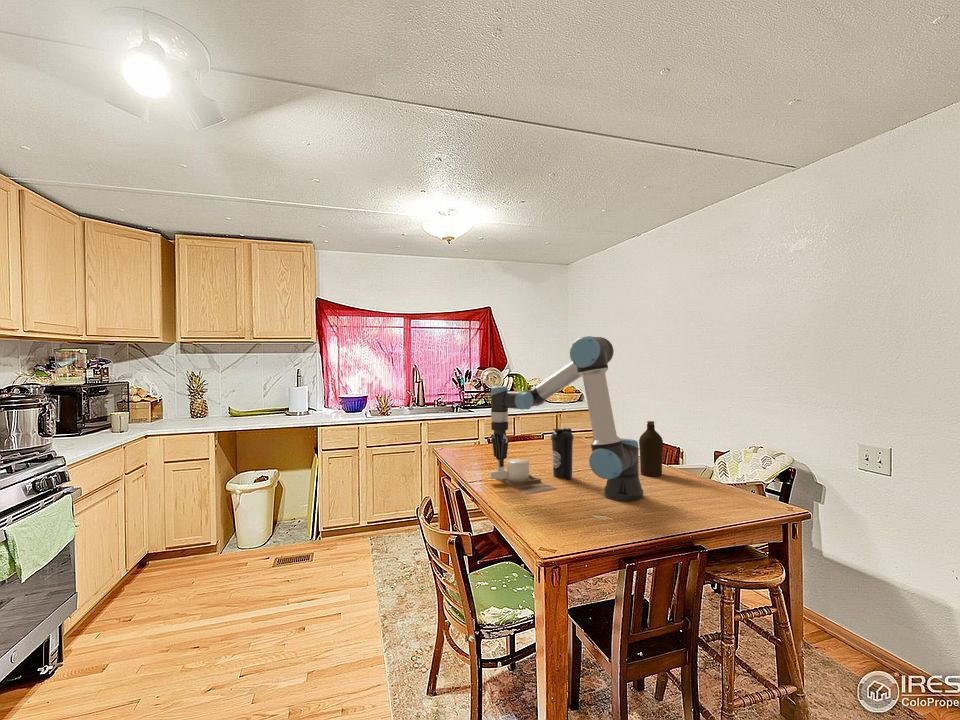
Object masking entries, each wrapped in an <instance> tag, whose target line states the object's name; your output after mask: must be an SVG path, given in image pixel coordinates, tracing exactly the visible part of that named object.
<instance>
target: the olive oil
mask: <svg viewBox="0 0 960 720" xmlns="http://www.w3.org/2000/svg"><path fill="white" fill-rule="evenodd" d="M646 422H647V424H646V430H645V431H644V432H643V433H642V434H641V435H640V437H639V440H638V448H639V462H640V463H639V464H640V475H642V476H644V477H651V478H657V477H661V476H663V453H664V451H663V449H664V442H663V438H662V436H661V435H660V433H658V432H657V431H656V429H655V428H656V427H655V421H652V420H648V421H646Z"/></svg>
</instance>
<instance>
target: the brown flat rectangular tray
mask: <svg viewBox="0 0 960 720" xmlns="http://www.w3.org/2000/svg"><path fill="white" fill-rule="evenodd" d="M496 480H497V481H499V482H501V483H503V484H505V485H507V486H509V487H511V488H513V489H516V490H517V491H519V492H521V493H523V494H526V495H533V494H539V493H544V492H545V493H546V492H550V491H555V490H558V488H556V487H553V486H552V485H549V484H547V483H544V482H542V479H541V478H539V477H537V476H535V475H532V474H530V473H529V480H528V481H521V482H515V483H513V482H511V481H509V480H507V478H503V479H496Z"/></svg>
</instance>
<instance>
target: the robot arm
mask: <svg viewBox="0 0 960 720" xmlns="http://www.w3.org/2000/svg"><path fill="white" fill-rule="evenodd" d="M569 349H570V350H569V359H570V362H569V363H568V364H566V365H564V366H563V367H562V368H560V369H559V370H557V371H556V372H555V373H553V374H552V375H549V377H547V378H546V379H544V380H543V381H542V382H539V384H537V385H535V386H534V387H533V388H531V389H528V390H527V389H526V390H519V391H511V390H509V388H508V386H506V385H495V386H492V387H491V389H490V406H491V407H490V409H491V410H490V414H491V415H490V420H491V423H490V425H491V428H490V429H491V430H492V431H493V434H490V438H491V443H492V444H491V445H492V451H493V452H492V453H493V457H495V459H496V471H498V470H505V468H504V467H505V466H504V465H505V464H504V463H505V462H504V460H506V459H508V458H507V457H508V448H509V443H510V438H509V437H508V438H507V433H506V432H507V431H508V430H509V422H508V421H509V409H514V410H515V409H516V410H521V411H523V410H531V408H532V407H538V406H541V405H543V404H544V403H545V402H546V400H548V399H549V398H550V397H552V396H553V395H556V394H557V393H558V392H560V391H562V390H563V389H565V388H566V387H568V386H569V385H571V384H572V383H574V382H576V381H577V380H578V379H580V378H582V380H583V386H584V391H585V392H584V393H585V396H586V397H585V398H586V403H587V409H588V413H589V419H590V425H591V431H592V437H593V440H592V441H591V442H590V446H591V453H590V456H589V460H588V464H589V467H590V469H591V471H592V472H593V474H594V475H596V476H597V477H598V478H601V479H603V480H606V484H605V487H604V488H603V489H604V490H603V495H604V496H605V497H606V498H608V499H611V500H615V501H618V502H619V501H620V502H636V501H640V500H642V499H644V489H643V488H642V483H641V481H640V477H639V472H640V471H639V464H640V463H639V462H640V455H639V451H640V449H639V441H637V440H636V439H630V438H620V437H619V436H618V434H617V429H616V425H615V420H614V414H613V408H612V402H611V397H610V393H609V387H608V386H609V385H608V381H607V377H606V373H607V371H608V370H609V366H608V363H610V362H611V361H612V359H613V356H614V347H613V344H612V343H611V342H610V340H608V339H607V338H605V337H601V336H600V337H599V336H589V335H588V336H582V337H578V338H577V339H576V340H575V341H573V343H572V345H570V348H569Z"/></svg>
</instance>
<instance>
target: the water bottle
mask: <svg viewBox="0 0 960 720" xmlns="http://www.w3.org/2000/svg"><path fill="white" fill-rule="evenodd" d="M550 440H551V447H552V448H551V451H552V452H551V453H552V454H551V456H552V472H553V475H552V476H553V477H554V478H556V479H565V480H567V481H571V480H572V479H573V451H574V450H573V449H574V448H573V446H574V444H573V443H574V435H573V433H572V428H570V427H564V428H553V432H552V433H551V435H550Z"/></svg>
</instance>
